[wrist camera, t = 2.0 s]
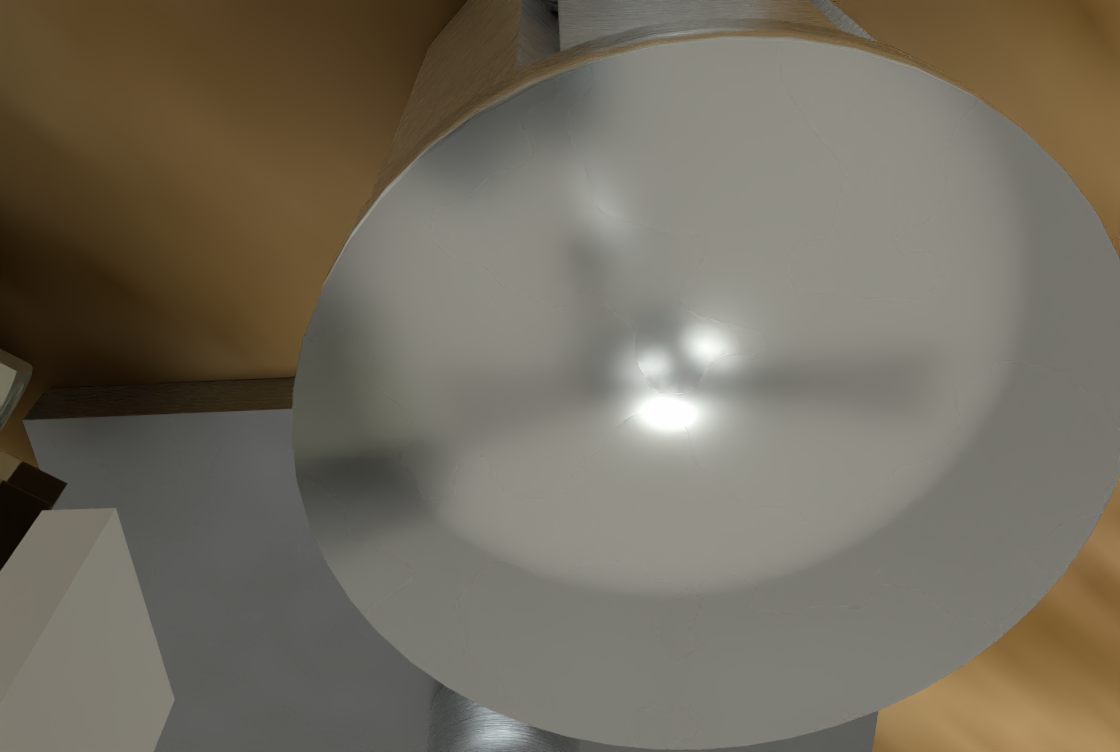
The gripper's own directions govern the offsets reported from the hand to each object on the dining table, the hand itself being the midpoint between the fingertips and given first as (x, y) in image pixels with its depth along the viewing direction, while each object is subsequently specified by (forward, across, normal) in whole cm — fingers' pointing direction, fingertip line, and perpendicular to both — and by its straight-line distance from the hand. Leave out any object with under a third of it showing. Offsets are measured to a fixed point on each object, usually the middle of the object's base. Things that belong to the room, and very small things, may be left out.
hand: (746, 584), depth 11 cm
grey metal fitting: (+15, 0, 0) cm, 15 cm away
